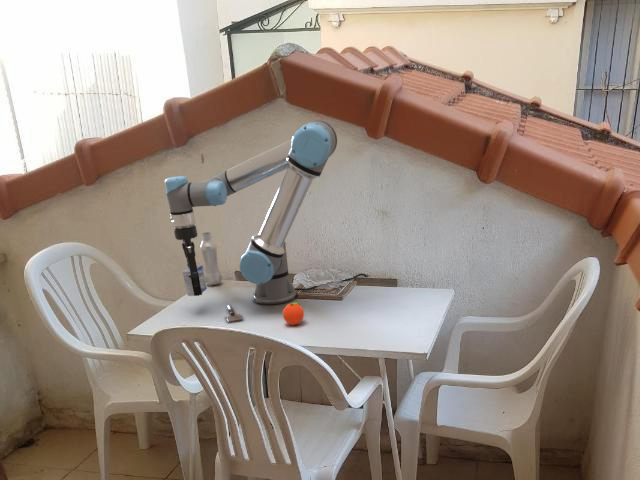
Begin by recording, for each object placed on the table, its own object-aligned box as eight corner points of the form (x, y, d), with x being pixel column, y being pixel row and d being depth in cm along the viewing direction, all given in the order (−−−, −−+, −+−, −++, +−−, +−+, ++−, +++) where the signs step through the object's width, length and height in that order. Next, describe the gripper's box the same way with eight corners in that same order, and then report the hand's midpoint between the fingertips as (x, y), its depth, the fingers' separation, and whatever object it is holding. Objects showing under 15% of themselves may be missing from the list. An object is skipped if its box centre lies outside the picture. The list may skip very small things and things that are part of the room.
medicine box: (199, 296, 240) (194, 271, 236) (187, 296, 241) (182, 271, 237) (207, 289, 247) (202, 264, 243) (195, 289, 248) (190, 265, 244)
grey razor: (222, 309, 248) (222, 305, 247) (236, 307, 249) (235, 303, 248) (228, 323, 234) (227, 318, 233) (242, 320, 235) (241, 316, 234)
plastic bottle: (204, 287, 275) (195, 235, 265) (209, 282, 281) (201, 231, 271) (219, 286, 274) (211, 235, 264) (224, 281, 279) (216, 231, 270)
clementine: (293, 318, 233) (291, 298, 229) (310, 320, 230) (308, 300, 226) (279, 326, 227) (277, 305, 224) (297, 328, 224) (295, 307, 220)
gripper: (171, 221, 241) (184, 285, 252) (175, 233, 223) (188, 301, 234) (193, 218, 243) (204, 282, 254) (198, 230, 224) (210, 298, 235)
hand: (197, 291), depth 244 cm, fingers closed on medicine box, 9 cm apart
